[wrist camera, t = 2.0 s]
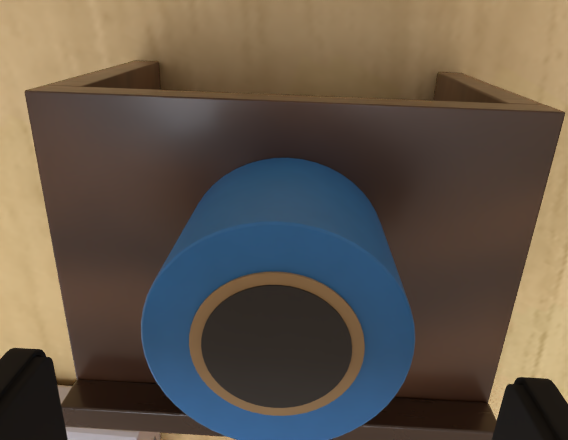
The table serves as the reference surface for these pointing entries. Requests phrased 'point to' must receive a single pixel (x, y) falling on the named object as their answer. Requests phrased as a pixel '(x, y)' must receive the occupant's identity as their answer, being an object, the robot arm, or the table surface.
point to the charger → (88, 436)
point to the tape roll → (280, 307)
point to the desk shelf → (308, 146)
